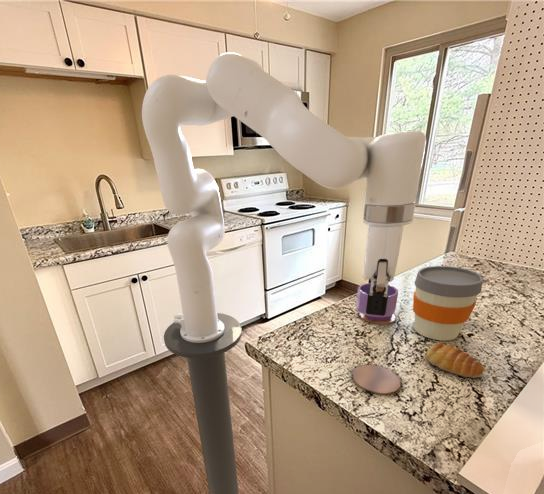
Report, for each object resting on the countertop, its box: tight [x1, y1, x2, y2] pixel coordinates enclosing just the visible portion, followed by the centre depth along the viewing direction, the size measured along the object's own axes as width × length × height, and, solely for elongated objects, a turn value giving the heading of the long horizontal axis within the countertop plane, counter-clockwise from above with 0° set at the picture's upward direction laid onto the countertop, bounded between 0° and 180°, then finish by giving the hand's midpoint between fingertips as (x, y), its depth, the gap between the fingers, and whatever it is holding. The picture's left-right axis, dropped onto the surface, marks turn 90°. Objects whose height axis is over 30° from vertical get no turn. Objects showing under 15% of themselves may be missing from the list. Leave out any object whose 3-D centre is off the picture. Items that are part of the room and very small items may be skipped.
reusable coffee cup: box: [412, 265, 484, 341], centre depth 74 cm, size 13×13×15 cm
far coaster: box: [359, 312, 396, 325], centre depth 86 cm, size 9×9×1 cm
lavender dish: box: [355, 282, 399, 317], centre depth 60 cm, size 7×7×4 cm
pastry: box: [425, 341, 485, 379], centre depth 64 cm, size 9×7×4 cm
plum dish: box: [365, 315, 392, 321], centre depth 85 cm, size 7×7×4 cm
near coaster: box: [352, 364, 402, 395], centre depth 64 cm, size 9×9×1 cm
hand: (375, 304), depth 61 cm, fingers closed on lavender dish, 6 cm apart
